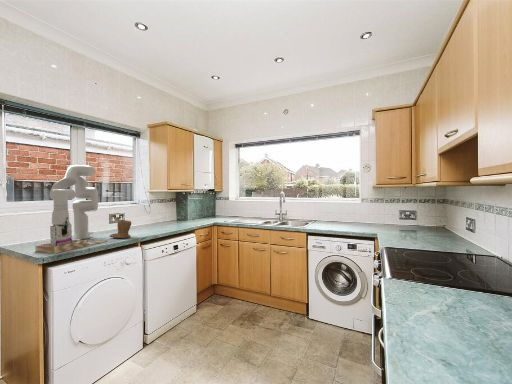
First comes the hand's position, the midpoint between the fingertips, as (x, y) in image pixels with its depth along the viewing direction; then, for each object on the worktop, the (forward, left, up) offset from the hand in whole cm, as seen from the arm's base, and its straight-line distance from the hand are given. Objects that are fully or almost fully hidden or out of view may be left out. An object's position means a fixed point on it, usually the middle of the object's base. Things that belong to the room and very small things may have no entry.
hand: (61, 234), depth 165 cm
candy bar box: (0, 0, -10) cm, 10 cm away
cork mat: (-20, +7, -10) cm, 23 cm away
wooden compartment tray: (-1, 0, -10) cm, 10 cm away
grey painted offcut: (-9, 0, -8) cm, 12 cm away
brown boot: (-42, +10, -10) cm, 44 cm away
